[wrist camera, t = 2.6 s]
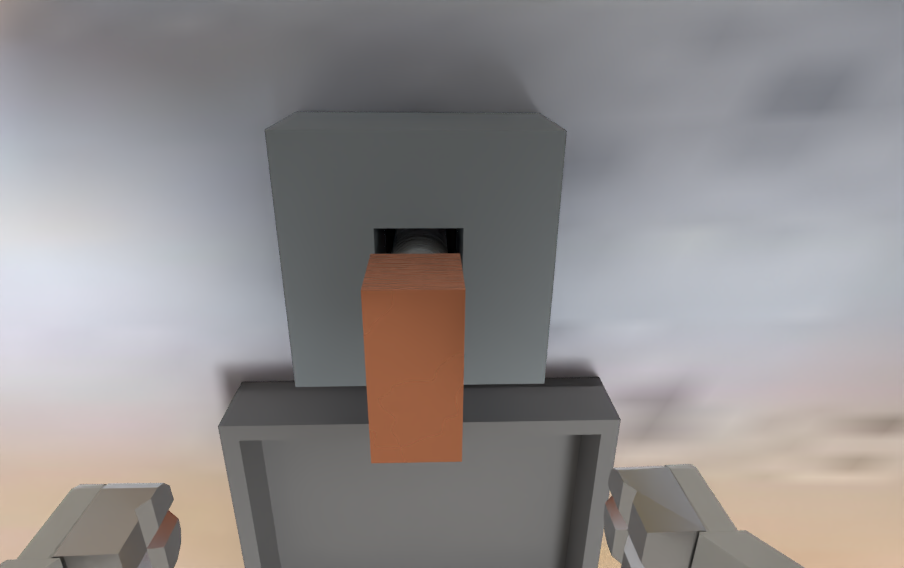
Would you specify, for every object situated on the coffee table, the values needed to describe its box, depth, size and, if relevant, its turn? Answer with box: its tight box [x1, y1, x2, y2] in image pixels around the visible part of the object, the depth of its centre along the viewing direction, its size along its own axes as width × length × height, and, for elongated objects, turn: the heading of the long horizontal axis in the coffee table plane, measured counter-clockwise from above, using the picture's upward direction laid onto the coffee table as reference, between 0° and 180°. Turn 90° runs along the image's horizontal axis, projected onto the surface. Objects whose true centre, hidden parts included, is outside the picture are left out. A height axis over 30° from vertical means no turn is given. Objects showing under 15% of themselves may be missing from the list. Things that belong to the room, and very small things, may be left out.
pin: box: [361, 228, 466, 463], centre depth 20 cm, size 2×5×12 cm, turn 179°
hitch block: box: [265, 112, 567, 387], centre depth 23 cm, size 10×10×5 cm
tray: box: [218, 377, 621, 568], centre depth 30 cm, size 18×15×4 cm
